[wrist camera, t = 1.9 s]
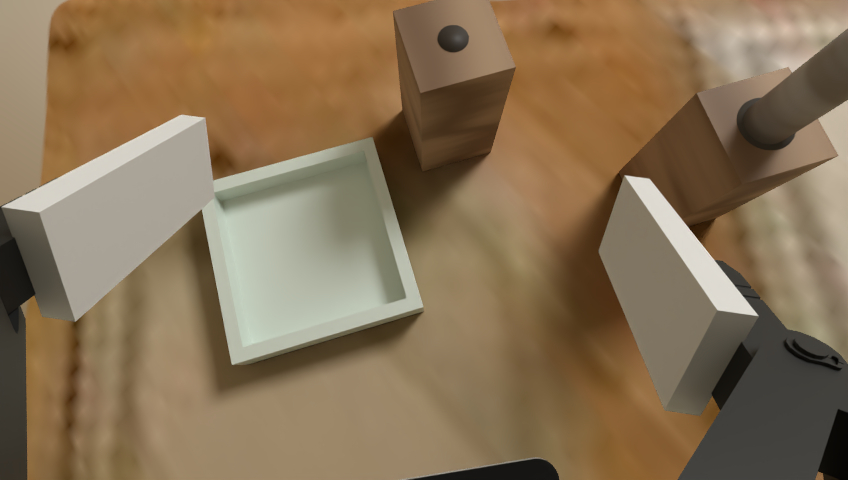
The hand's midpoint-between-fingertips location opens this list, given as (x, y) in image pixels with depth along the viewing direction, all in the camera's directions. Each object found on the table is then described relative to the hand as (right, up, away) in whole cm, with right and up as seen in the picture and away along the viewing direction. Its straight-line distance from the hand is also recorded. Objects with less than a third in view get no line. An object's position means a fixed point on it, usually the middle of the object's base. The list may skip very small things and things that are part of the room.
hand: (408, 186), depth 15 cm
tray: (-7, -3, +17) cm, 18 cm away
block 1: (+2, +6, +19) cm, 20 cm away
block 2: (+17, +1, +18) cm, 25 cm away
